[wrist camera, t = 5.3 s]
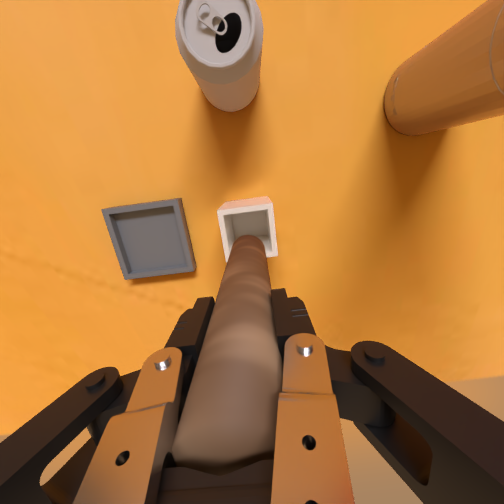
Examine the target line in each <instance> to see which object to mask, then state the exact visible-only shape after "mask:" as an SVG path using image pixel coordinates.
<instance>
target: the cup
mask: <svg viewBox="0 0 504 504" xmlns="http://www.w3.org/2000/svg"><path fill="white" fill-rule="evenodd" d="M217 214H218V220H219V225H220V231H221V236H222V242H223V247H224V253H225V259H226V262H228V258H229V255H230V252H231V248H232V245H233V243H234V242H235V240H236V239H238V238H239V237H241V236H244V235H253V236H256V237H258V238H259V239H260V240H261V241H262V242H263V244H264V246H265V252H266V257H274V256H278V251H277V241H276V231H275V222H274V212H273V203H272V202H271V200H270V199H269V198H268V196H264V197H257V198H249V199H242V200H234V201H227V202H225V203H224V204H223V205H222V206H221V207H220V208H219V209H218V210H217Z"/></svg>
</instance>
